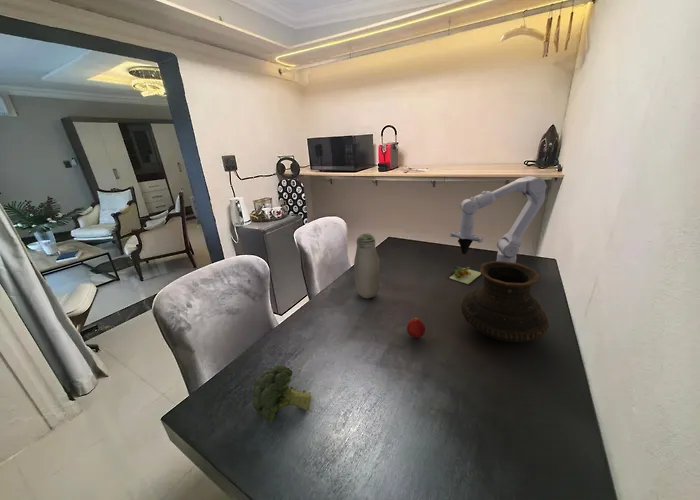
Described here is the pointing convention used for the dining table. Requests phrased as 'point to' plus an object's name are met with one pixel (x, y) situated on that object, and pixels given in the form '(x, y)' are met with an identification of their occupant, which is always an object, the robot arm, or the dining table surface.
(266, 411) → the vegetable
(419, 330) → the onion
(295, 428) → the dining table surface
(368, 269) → the glass bottle
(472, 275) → the felt mat
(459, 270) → the figurine
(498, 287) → the ceramic pot
